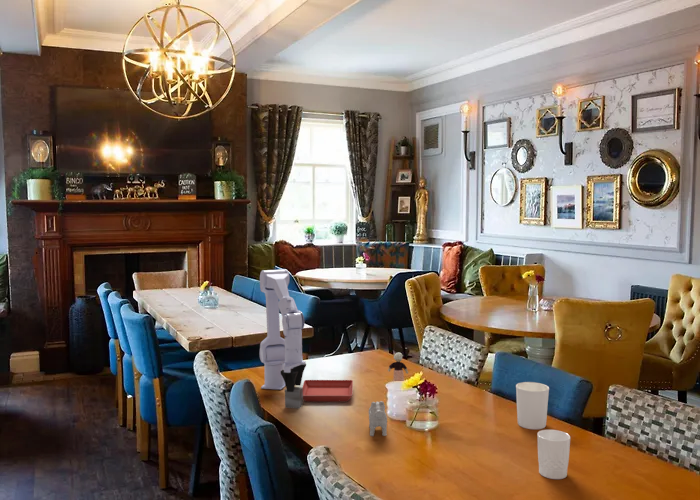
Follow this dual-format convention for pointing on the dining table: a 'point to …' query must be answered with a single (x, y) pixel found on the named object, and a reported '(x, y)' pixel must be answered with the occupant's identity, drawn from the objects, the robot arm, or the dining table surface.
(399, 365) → the grandmother figurine
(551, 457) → the white cup
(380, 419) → the dog figurine
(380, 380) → the dining table surface
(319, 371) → the dining table surface
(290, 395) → the charcoal block
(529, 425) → the candle holder
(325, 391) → the plant saucer
